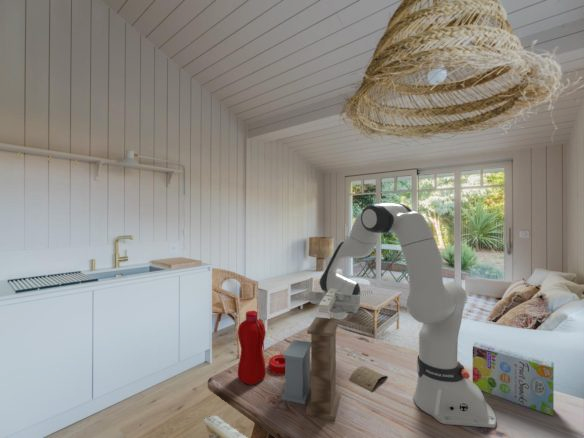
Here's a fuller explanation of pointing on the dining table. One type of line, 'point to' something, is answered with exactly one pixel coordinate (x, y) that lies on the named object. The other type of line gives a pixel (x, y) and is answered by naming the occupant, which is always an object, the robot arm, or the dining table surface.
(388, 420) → the dining table surface
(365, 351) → the dining table surface
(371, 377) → the clay tablet
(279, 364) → the decorative ornament
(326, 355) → the walnut pedestal
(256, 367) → the water bottle
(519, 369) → the snack box
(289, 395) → the slate stand
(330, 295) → the domino bar
